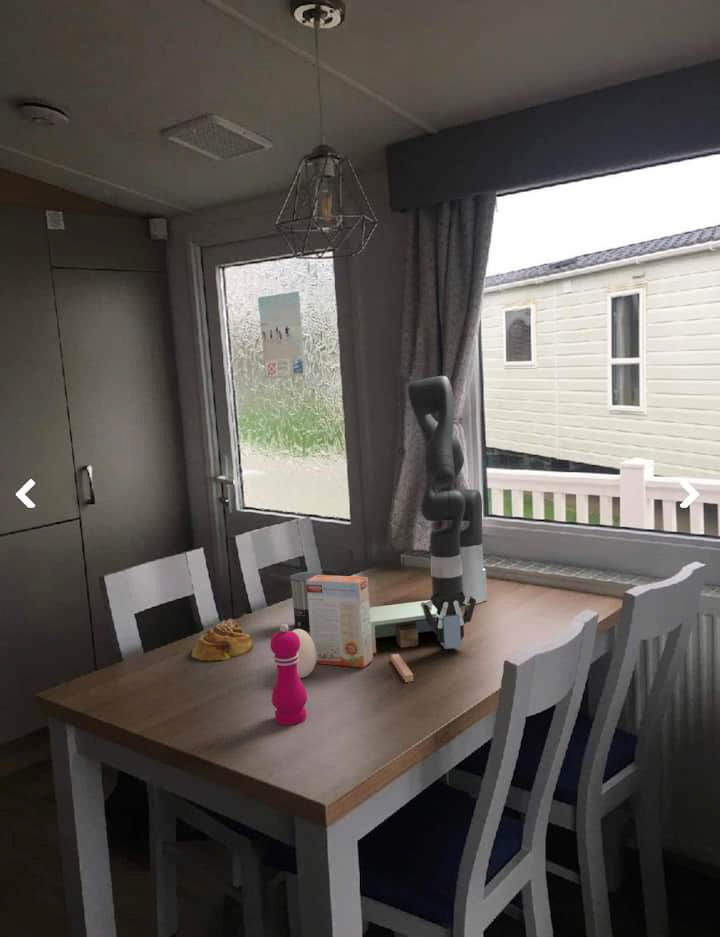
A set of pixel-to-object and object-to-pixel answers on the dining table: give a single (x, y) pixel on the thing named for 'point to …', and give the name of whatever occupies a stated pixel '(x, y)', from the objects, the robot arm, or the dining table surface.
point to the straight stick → (402, 667)
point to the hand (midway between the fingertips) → (450, 640)
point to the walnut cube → (407, 635)
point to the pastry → (223, 642)
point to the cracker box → (340, 620)
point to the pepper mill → (287, 679)
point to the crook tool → (444, 629)
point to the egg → (305, 653)
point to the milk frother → (301, 599)
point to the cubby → (395, 618)
